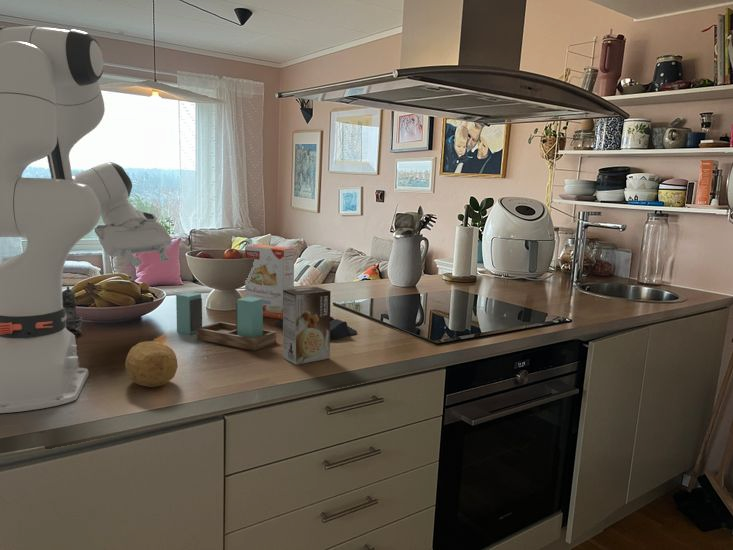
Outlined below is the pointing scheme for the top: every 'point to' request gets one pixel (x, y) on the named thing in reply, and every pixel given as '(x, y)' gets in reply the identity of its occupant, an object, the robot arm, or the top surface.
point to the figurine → (71, 311)
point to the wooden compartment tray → (234, 336)
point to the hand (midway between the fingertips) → (152, 262)
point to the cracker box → (270, 276)
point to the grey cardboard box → (306, 324)
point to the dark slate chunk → (333, 329)
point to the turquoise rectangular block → (249, 317)
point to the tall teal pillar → (188, 312)
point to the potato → (151, 364)
